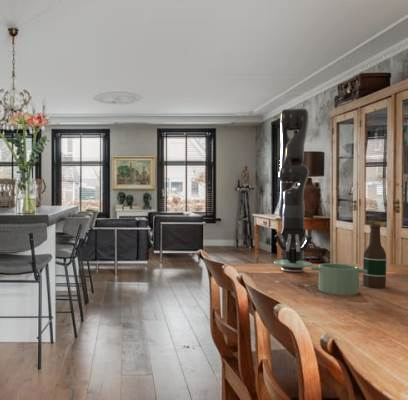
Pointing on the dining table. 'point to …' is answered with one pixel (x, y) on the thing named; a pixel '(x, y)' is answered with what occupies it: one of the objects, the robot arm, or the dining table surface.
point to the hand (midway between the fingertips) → (292, 260)
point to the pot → (339, 278)
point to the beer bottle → (374, 260)
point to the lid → (293, 261)
